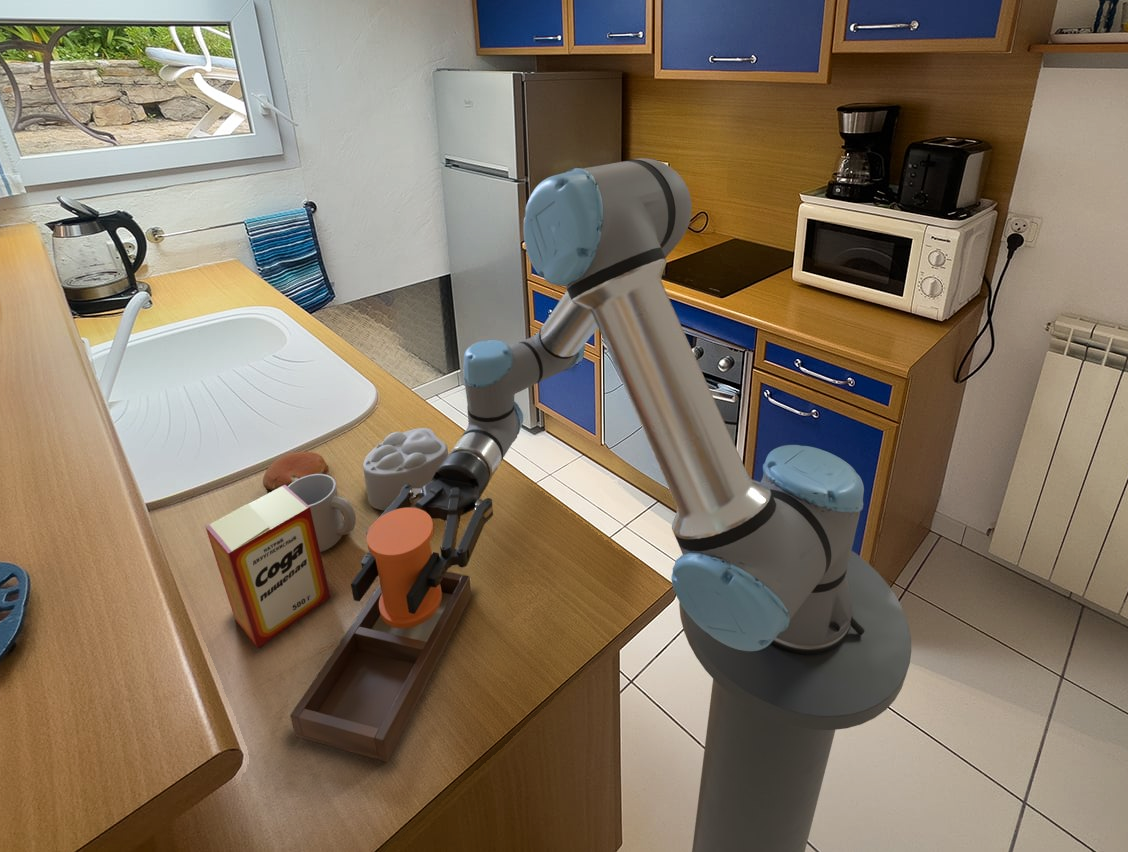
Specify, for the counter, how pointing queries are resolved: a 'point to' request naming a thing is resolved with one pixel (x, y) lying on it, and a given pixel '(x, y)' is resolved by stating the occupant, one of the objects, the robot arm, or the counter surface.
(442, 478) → the robot arm
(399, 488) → the lumpy-topped squat cylinder
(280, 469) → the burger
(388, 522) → the spool
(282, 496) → the baking soda box
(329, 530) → the cup
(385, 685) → the divided tray
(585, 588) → the counter surface
